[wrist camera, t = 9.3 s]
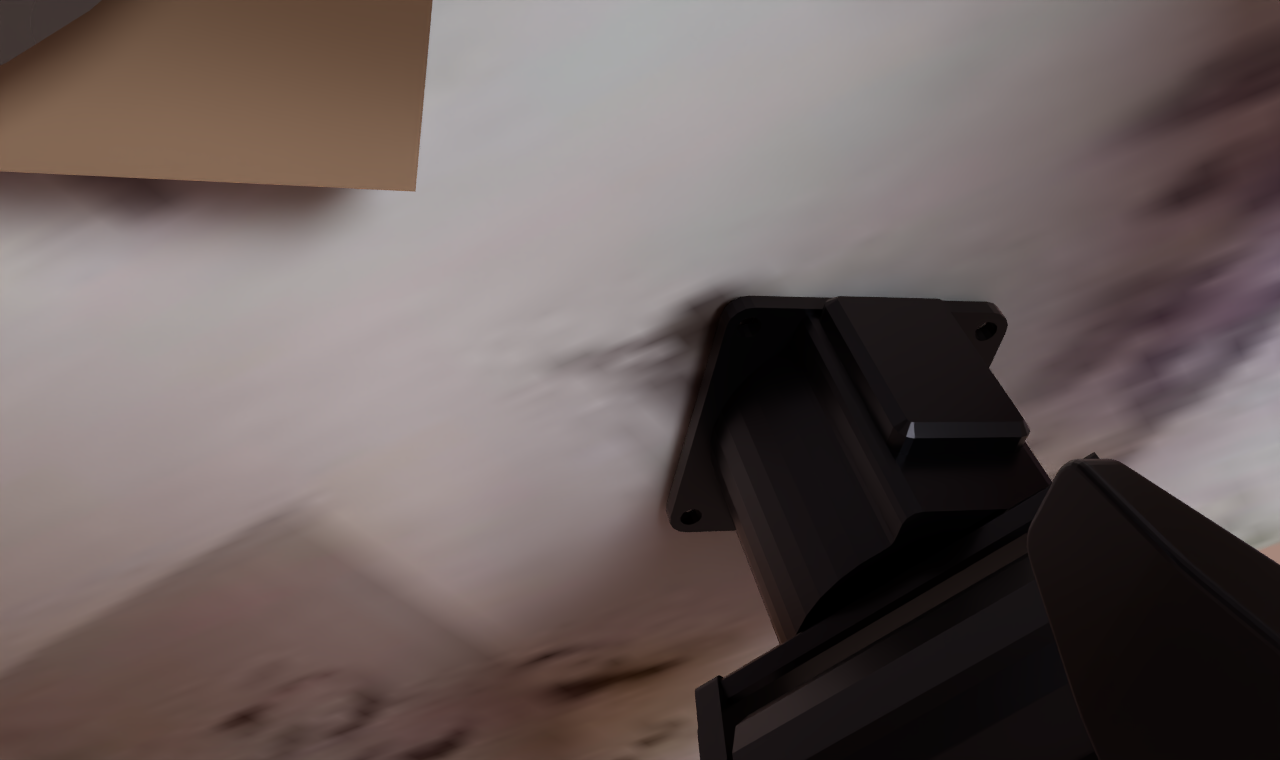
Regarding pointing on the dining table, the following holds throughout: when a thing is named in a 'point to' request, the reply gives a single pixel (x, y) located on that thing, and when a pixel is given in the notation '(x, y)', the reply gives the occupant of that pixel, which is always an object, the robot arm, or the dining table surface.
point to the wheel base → (224, 93)
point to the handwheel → (35, 22)
